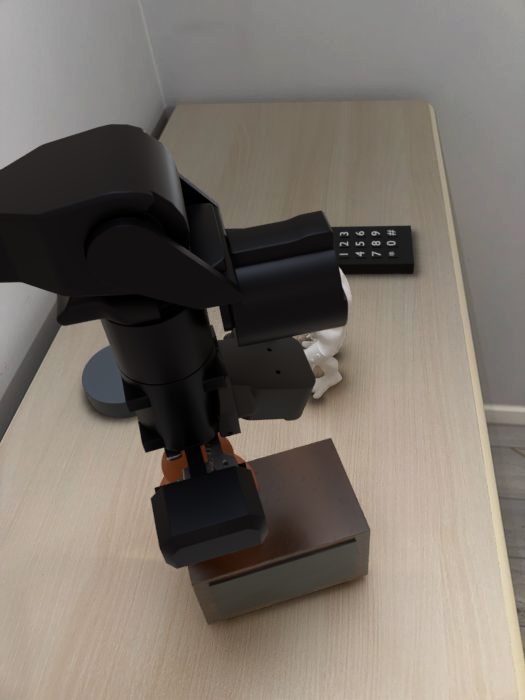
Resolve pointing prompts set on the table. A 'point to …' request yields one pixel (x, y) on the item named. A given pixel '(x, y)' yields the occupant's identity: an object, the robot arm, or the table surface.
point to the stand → (105, 385)
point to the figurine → (327, 349)
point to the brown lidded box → (290, 536)
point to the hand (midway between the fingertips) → (206, 488)
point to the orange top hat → (174, 468)
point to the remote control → (373, 249)
